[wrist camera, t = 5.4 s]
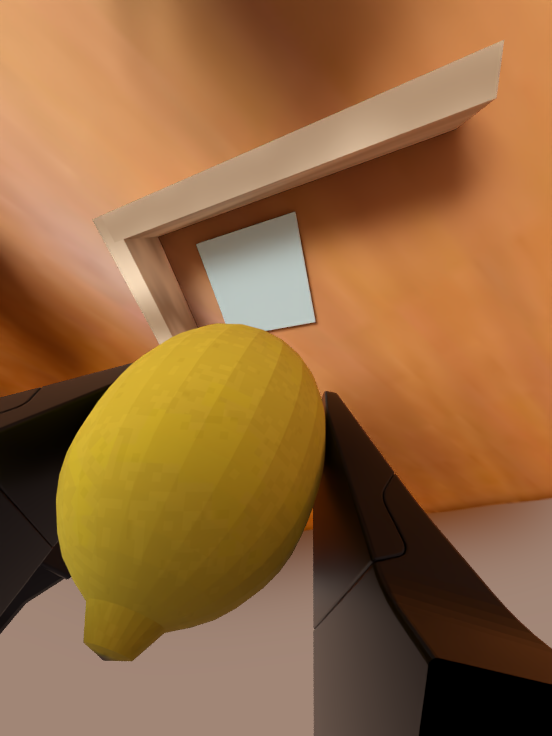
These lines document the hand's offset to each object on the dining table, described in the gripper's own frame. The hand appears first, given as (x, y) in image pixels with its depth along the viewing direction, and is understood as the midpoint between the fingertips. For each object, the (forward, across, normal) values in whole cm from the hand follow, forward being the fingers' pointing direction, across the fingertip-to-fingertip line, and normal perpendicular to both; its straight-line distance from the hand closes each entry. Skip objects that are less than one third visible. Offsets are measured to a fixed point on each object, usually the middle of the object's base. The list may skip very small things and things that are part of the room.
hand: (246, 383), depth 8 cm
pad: (+12, +3, -1) cm, 12 cm away
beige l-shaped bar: (+12, 0, -1) cm, 12 cm away
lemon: (+2, 0, 0) cm, 2 cm away
